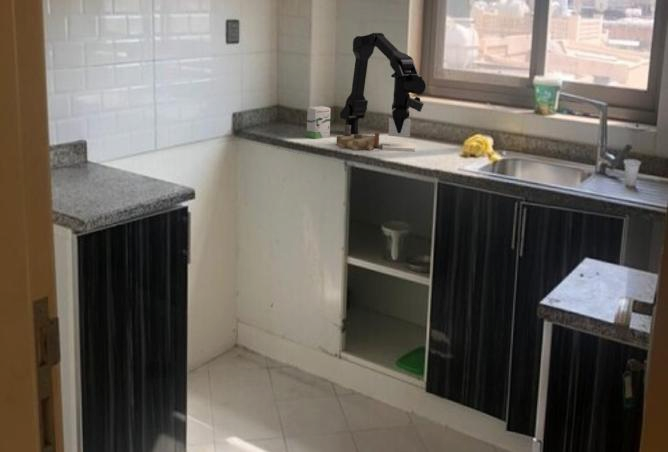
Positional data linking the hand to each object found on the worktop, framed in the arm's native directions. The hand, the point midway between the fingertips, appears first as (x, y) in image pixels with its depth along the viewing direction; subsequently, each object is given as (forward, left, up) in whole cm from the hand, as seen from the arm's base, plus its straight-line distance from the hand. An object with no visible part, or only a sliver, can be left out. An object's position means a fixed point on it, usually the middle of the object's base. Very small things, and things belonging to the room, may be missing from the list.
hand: (399, 132), depth 321 cm
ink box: (-14, -31, -6) cm, 35 cm away
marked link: (0, 0, -1) cm, 1 cm away
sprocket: (+1, -15, -6) cm, 17 cm away
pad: (0, 0, -6) cm, 6 cm away
